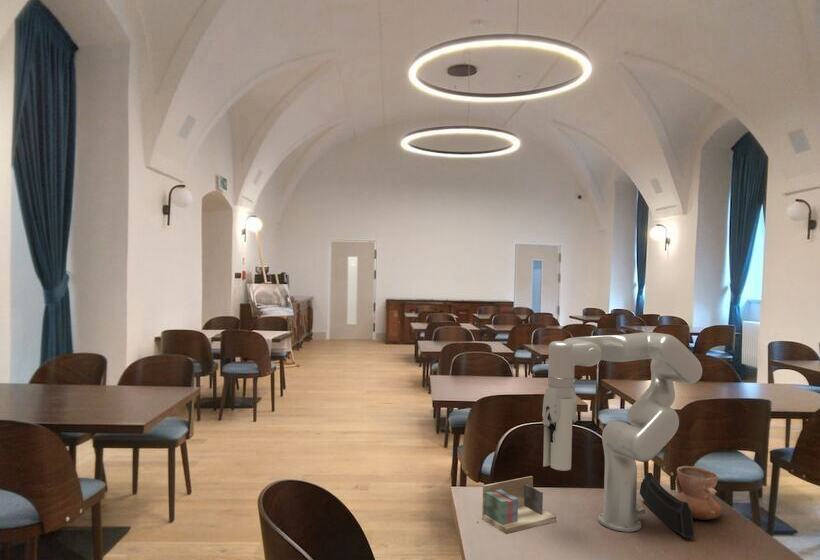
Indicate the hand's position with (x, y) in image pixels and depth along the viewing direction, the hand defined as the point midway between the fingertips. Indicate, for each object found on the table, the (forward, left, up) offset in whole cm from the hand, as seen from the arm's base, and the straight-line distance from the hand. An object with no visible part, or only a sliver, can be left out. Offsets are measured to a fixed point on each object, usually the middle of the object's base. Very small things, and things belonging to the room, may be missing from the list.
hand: (559, 443), depth 167 cm
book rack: (+4, -13, -27) cm, 30 cm away
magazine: (-39, +7, -27) cm, 48 cm away
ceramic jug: (-52, +9, -27) cm, 59 cm away
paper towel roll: (0, 0, -7) cm, 7 cm away
